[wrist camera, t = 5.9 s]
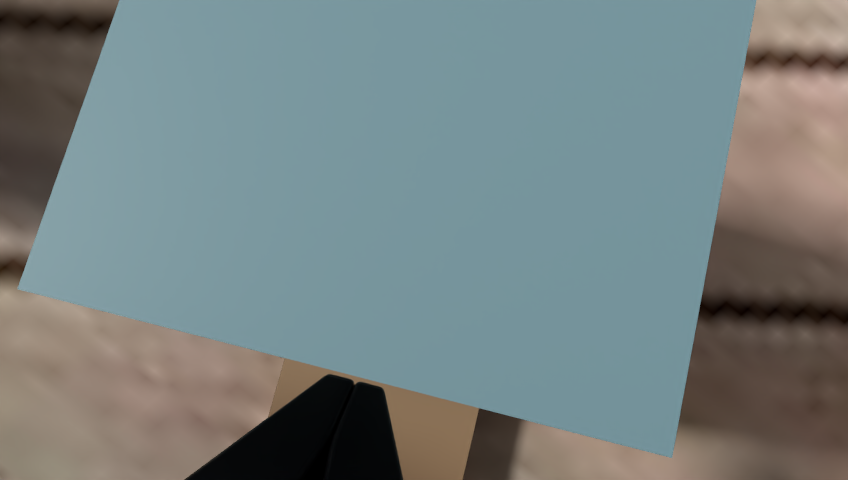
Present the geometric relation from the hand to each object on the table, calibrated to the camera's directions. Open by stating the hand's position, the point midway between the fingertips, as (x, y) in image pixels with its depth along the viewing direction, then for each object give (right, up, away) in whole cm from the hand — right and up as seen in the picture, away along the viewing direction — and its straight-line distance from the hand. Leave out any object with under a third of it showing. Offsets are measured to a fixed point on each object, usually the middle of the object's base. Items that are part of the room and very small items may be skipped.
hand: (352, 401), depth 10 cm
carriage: (+1, +2, +8) cm, 8 cm away
